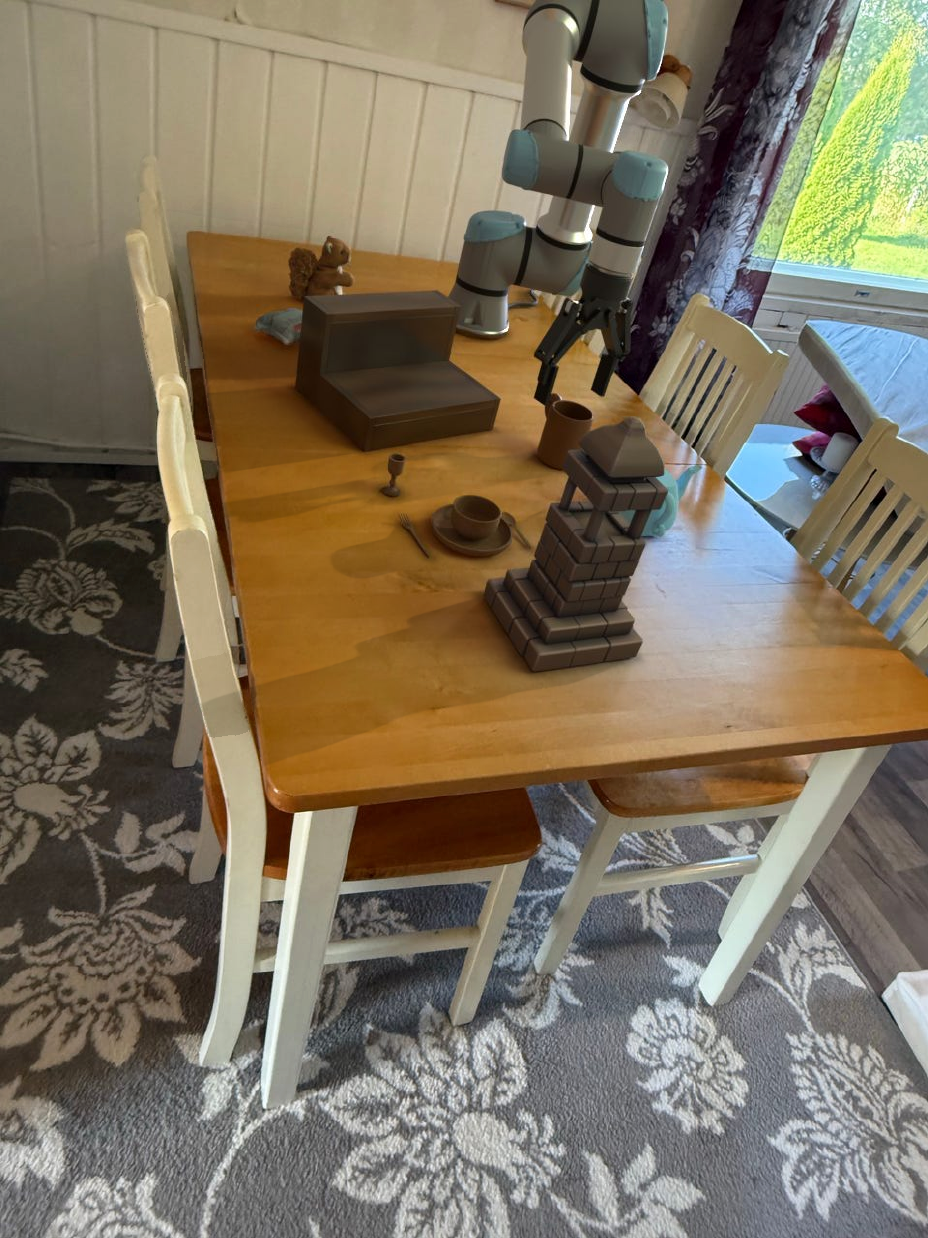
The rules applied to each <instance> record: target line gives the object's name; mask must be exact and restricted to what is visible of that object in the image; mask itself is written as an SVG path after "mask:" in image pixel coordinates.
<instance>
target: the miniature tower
mask: <svg viewBox="0 0 928 1238" xmlns="http://www.w3.org/2000/svg"><path fill="white" fill-rule="evenodd" d="M647 434H648V433H647V431H646V425H645V423H644V421H643V420H642V419H641V418H640V417H638V416H626V417H625V418H623V419H622V420H621V421H619V422H618V423H614V424H605V425H601V426H599V427H596V428H593V429H591V430H590V431H589V432H588V433H586V434H585V435H584V436H583V438H582V439H581V440H580V441H579V442H578V443H579V445H580V446H581V448H582V449H580V450H569V451H568V452H567V455H566V458H565V461H564V464H563V467H562V469H563V470H562V471H563V473H565V475H566V476H567V480H566V483H565V485H564V489H563V492H562V495H561V498H560V500H559V502H551V503H550V504H549V507H548V510H547V514H546V516H545V519H544V520H545V524H544V525H543V529H542V532H541V534H540V537H539V540H538V542H537V545H536V547H535V551H534V553H533V557H534V559H531V562H530V565H529V566H528V567H516V568H507V570H506V572H505V575H504V576H503V577H502V576H501V577H493V578H488V579H487V581H486V584H485V587H484V591H483V594H482V597H483V598H484V600H485V601H486V603H487V604H488V606H489V607H490V608H491V610H492V612H493V614H494V616H495V617H496V618H497V620H498V622H499V623H500V625H501V626H502V628H503V629H504V631H505V633H506V634H507V636H508V637H509V639H510V640H511V642H512V644H513V645H514V647H515V648H516V650H517V651H518V653H519V655H520V656H521V657H523V659H524V660H525V661H526V663H527V665H528V666H529V668H530V669H531V671H532V672H543V671H549V670H556V669H563V668H569V667H577V666H583V665H590V664H597V663H598V664H599V663H603V662H611V661H618V660H626V659H633V658H637V656H638V653H639V651H640V649H641V647H642V645H643V643H644V639H643V638H642V637H641V635H640V634H639V633H638V632H637V631H636V629H635V628H634V627H635V626H634V624H635V622H636V618H635V617H634V616H633V615H632V613H630V611H629V610H628V607H627V605H626V604H625V602H623V598H624V596H625V595H626V593H627V591H628V588H629V586H630V583H631V581H632V579H631V577H633V576H634V574H635V573H636V569H637V567H638V565H639V563H640V559H641V557H642V554H643V552H644V550H645V547H646V545H647V541H646V540H645V538H643V537H642V536H641V535H642V532H643V530H644V528H645V525H646V523H647V520H648V518H649V516H650V513H651V511H652V510H659V509H661V508H662V505H663V503H664V501H665V498H666V496H667V494H668V489H667V488H666V487H665V486H664V485H663V484H662V483H661V482H660V481H659V480H658V479H657V478H656V477H660V476H664V474H665V469H666V463H665V460H664V457H663V456H662V453H661V451H660V449H659V448H658V446H657V445H656V443H655V442H654V441H653V440H652V439H651V438H650V437H649V435H647ZM577 489H579V490H580V492H581V493H582V495H584V497H586V499H587V500H573V499H574V497H575V493H576V491H577ZM627 510H628V511H629V510H636V511H635V513H634V516H633V518H632V521H631V523H630V524H629V523H628V521H627V520H626V519H625V518H624V517H623V516H622V515H621V514H619V511H627Z"/></svg>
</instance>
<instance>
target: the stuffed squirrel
mask: <svg viewBox="0 0 928 1238" xmlns="http://www.w3.org/2000/svg"><path fill="white" fill-rule="evenodd" d="M289 254H290V257H289V258H288V260H287V261H288V263H287V264H288V267H289V272H290V273H288V275H289V279H290V281H289V285H288V290H289V292H290V294H291V295H292V297H294V299H296V301H297V302H301V303H303V302H304V296H321V295H344V294H345V292H343V287H346V288H350V287H352V286H353V285H354V284H355V277H354V275H353V274H352V273H351V272H350V271H347V270H345V269H343V267H344V266H347V265H348V267H349V268H351V260H352V254H353V252H352V249H351V248H350V247H349V245H348V244H346V243H345V241H343V240H341V239H339V238H337V237H333V236H332V235H327V236H326V239H325V241H324V243H323V245H322V248H321V255H320V257H319V259H318V258H317V255H316V251H315V250H312V249H310V248H309V247H308V248H306V247H304V248H303V247H301V246H300V247H298V246H296V247H295V248H294V250H292V251H290V253H289Z"/></svg>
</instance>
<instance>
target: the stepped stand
mask: <svg viewBox="0 0 928 1238" xmlns="http://www.w3.org/2000/svg"><path fill="white" fill-rule="evenodd" d="M460 308H461V306H460V305H459V304H457V303H456V302H454V301H453V300H451V299H450V298H448V296H447V295H445V294H443V292H441V291H440V290H437V289H435V290H433V289H432V290H415V291H414V290H413V291H411V290H410V291H392V292H373V293H372V292H369V293H368V292H367V293H366V292H365V293H347V294H346V293H344V295H321V296H304V302H302V311H303V312H302V322H301V332H300V342H298V355H297V364H296V374H295V381H294V382H295V384H294V389H295V390H296V391H297V392H298V393H299V394H301V396H303V397H304V398H305V399H306V400H307V401H308V402H309V403H310V404H311V405H312V406H314V407H315V408H316V410H317V411H319V412H320V413H321V414H322V415H323V416H325V417H326V418H327V419H328V420H329V421H330V422H331V424H333V425H334V426H335V427H336V428H337V429H339V431H341V432H342V433H343V434H344V435H345V436H346V437H347V438H349V440H351V442H353V443H354V444H355V445H356V446H357V447H358V448H359V449H360V450H361V451H362V452H364V453H367V452H371V451H377V450H382V449H389V448H394V447H399V446H407V445H411V444H417V443H422V442H429V441H434V440H439V439H445V438H453V437H456V436H462V435H470V434H475V433H481V432H487V431H492V430H494V427H495V423H496V418H497V415H498V412H499V407H500V403H501V400H502V398H501V397H499V396H498V395H497V394H495V393H494V392H493V391H491V390H490V389H488V388H487V387H486V386H485V385H483V384H482V383H481V382H479V381H478V380H476V378H474V377H472V375H470V374H469V373H467V372H465V370H464V369H462V368H460V367H459V366H458V365H457V364H455V363H454V362H452V360H450V358H451V353H452V349H453V344H454V340H455V335H456V332H455V331H456V327H457V322H458V317H459V313H460Z"/></svg>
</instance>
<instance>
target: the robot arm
mask: <svg viewBox="0 0 928 1238" xmlns="http://www.w3.org/2000/svg"><path fill="white" fill-rule="evenodd" d="M668 25H669V12H668V8H667V5H666V3H665V2H664V1H663V0H535V1H534V2H533V3H532V5H531V6H530V8H529V10H528V12H527V14H526V17H525V19H524V23H523V28H522V34H521V35H522V36H521V44H522V49H523V52H524V54H525V56H526V59H525V70H524V71H525V73H524V79H523V80H524V83H523V91H522V92H523V93H522V94H523V95H522V102H521V103H522V104H521V115H520V125H519V129H518V128H516V129H515V128H514V129H512V130H511V131H510V133H509V135H508V137H507V138H508V139H507V141H506V145H505V150H504V155H503V161H502V167H501V178H502V181H503V182H504V183H506V184H507V185H511V186H514V187H517V188H520V189H522V190H524V191H530V192H536V193H539V194H545V195H549V196H552V197H551V201H550V204H549V206H548V207H549V208H548V211H547V213H544V214H543V215H541V216H540V217H538V220H537V221H536V225H535V227H532V226H527V220H526V218H525V217H524V216H523V215H520V214H518V213H517V214H516V213H514V212H511V211H505V210H491V209H490V210H481V211H477V212H475V213H473V214H472V215H471V216H470V217H469V219H468V222H467V226H466V230H465V232H464V234H463V245H462V248H461V254H460V257H459V263H458V266H457V272H456V277H455V281H454V285H453V286H452V288H451V290H450V292H449V294H448V296H447V297H448V298H450V299H451V300H453V301H454V302H456V303H457V304H459V305H460V306H461V308H460V313H459V317H458V322H457V327H456V331H455V333H457V334H460V335H463V336H467V337H468V338H469V337H470V338H474V339H478V340H479V339H480V340H489V341H490V340H491V341H492V340H500V339H502V338H505V337H506V336H507V334H508V331H509V327H510V320H509V308H513V307H534V306H536V305H537V304H538V303H539V300H538V298H537V297H536V295H535V294H534V292H535V291H537V292H543V293H545V294H551V295H552V296H561V297H566V298H564V300H563V302H562V305H561V308H560V311H559V313H558V314H557V316H556V318H555V319H554V321H553V322H552V324H551V325H550V327H549V329H548V330H547V331H546V334H545V335H544V337H543V338H542V340H541V341H540V343H539V344H538V346H537V347H536V349H535V350H534V352H533V357H534V358H536V359H537V360H538V361H540V362H541V364H540V367H539V372H538V375H537V385H536V387H535V392H534V394H533V399H534V400H536V401H537V402H539V403H540V404H541V405H543V406H544V407H545V405H548V403H549V399H550V396H551V394H552V393H553V389H554V387H555V382H556V378H557V376H558V372H559V370H560V366H558V365H557V364H558V363H559V362H560V361H561V359H563V357H564V356H565V355H566V354H567V353H568V351H569V350H570V349H571V348H572V347H573V346H574V345H575V344H576V342H577V341H578V340H579V339H580V338H581V336H585V335H586V334H587V333H589V332H591V331H595V330H599V331H600V332H601V336H602V339H603V343H604V346H605V351H606V353H601V356H600V360H599V362H598V366H597V369H596V372H595V375H594V378H593V381H592V384H591V387H590V391H591V392H592V393H594V394H596V395H598V396H599V397H601V398H605V396H606V393H607V390H608V388H609V384H610V381H611V379H612V376H613V375H614V373H615V370H616V367H617V363H618V361H620V362H623V361H624V360H625V359H626V356H627V355H629V354H630V353H631V337H632V335H631V334H632V333H631V332H632V331H631V329H632V327H631V326H632V325H631V324H632V311H633V308H634V304H635V303H634V302H635V301H633V300H632V299H631V298H628V296H629V293H630V289H631V286H632V284H633V280H634V277H633V274H635V273H636V272H637V269H638V266H639V264H640V261H641V257H642V254H643V251H644V248H645V243H646V240H647V238H648V235H649V231H650V229H651V225H652V223H653V220H654V217H655V215H656V211H657V208H658V206H659V202H660V200H661V197H662V195H663V193H664V191H665V183H666V180H667V176H668V173H669V166H668V164H667V163H666V161H664V160H663V159H660V158H659V157H657V156H655V155H652V154H649V153H646V152H641V151H637V150H631V149H628V150H627V149H626V150H615V151H614V147H615V144H616V142H617V138H618V136H619V133H620V129H621V126H622V123H623V121H624V117H625V114H626V112H627V108H628V105H629V102H630V100H631V99H632V98H634V97H636V96H638V95H639V94H640V93H641V91H642V89H643V86H644V84H645V81H646V82H647V83H648V82H651V81H654V80H656V78H657V75H658V73H659V72H660V69H661V64H662V61H663V57H664V52H665V47H666V42H667V35H668V27H669V26H668ZM573 61H574V62H578V63H581V65H580V68H579V75H580V77H581V80H582V83H583V91H582V93H581V97H580V100H579V103H578V107H577V110H576V114H575V117H574V121H573V124H572V128H571V131H570V132H569V130H570V114H571V113H570V110H571V93H572V92H571V91H572V74H573ZM569 133H570V135H569ZM595 207H599V208H601V212H600V215H599V219H598V221H597V222H598V223H597V225H596V228H595V233H594V237H593V233H592V231H591V229H590V227H589V225H590V222H591V219H592V215H593V212H594V209H595ZM592 238H593V240H592ZM511 285H512V286H516V287H521V288H523V289H524V288H525V289H529V292H528V295H529V296H530V298H531V299H532V300H533V301H532V302H523V301H516V302H511V303H509V301H508V300H509V299H508V297H509V293H510V288H511ZM580 291H581V295H580V298H579V299H578V301H576V300H573V299H571V298H569V297H573V296H575V295H577V293H579V292H580Z"/></svg>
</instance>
